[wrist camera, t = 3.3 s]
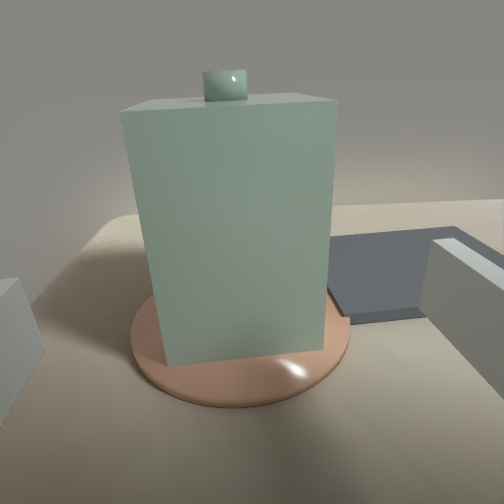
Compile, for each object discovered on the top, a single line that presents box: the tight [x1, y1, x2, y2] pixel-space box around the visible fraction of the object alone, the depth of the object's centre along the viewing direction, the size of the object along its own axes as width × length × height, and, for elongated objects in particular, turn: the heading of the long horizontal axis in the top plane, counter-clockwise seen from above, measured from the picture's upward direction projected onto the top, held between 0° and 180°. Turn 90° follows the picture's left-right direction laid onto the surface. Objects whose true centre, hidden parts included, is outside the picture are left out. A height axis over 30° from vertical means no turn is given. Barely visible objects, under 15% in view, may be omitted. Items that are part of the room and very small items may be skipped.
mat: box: [327, 226, 504, 325], centre depth 27 cm, size 14×11×1 cm
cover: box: [119, 70, 338, 367], centre depth 19 cm, size 8×8×13 cm
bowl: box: [130, 288, 350, 408], centre depth 21 cm, size 13×13×4 cm
